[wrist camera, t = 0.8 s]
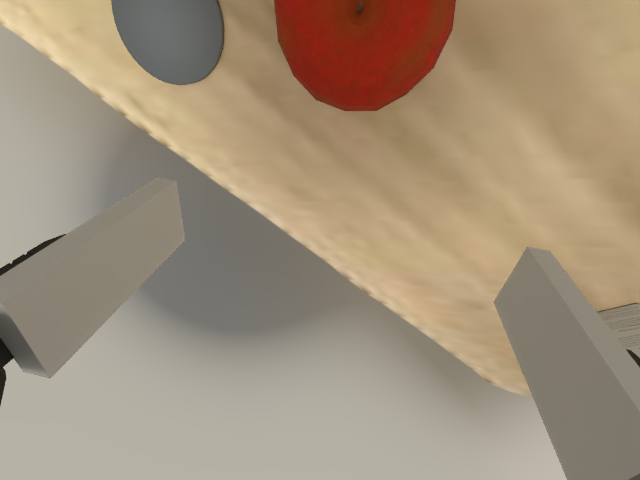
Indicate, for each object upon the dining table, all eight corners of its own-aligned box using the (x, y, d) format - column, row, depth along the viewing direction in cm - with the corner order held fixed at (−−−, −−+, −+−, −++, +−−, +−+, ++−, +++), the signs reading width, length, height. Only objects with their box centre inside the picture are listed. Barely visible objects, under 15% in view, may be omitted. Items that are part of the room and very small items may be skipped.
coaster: (106, -63, 28) (99, -66, 27) (223, -42, 28) (219, -44, 27) (128, 73, 34) (123, 74, 33) (224, 92, 34) (221, 94, 33)
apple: (328, -101, 25) (280, -232, 13) (466, -39, 25) (542, -111, 13) (286, 67, 31) (230, 83, 20) (396, 113, 32) (405, 154, 20)
